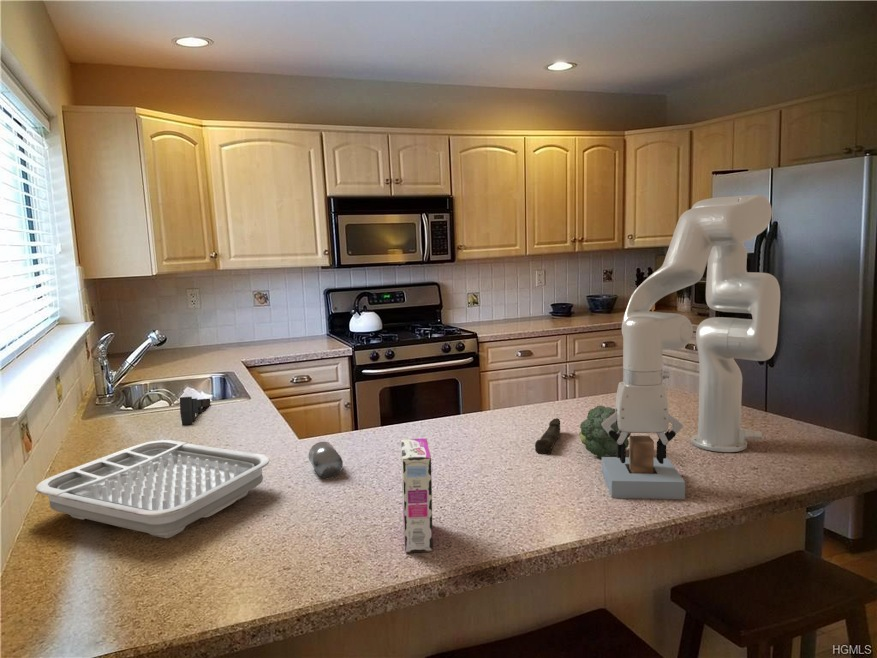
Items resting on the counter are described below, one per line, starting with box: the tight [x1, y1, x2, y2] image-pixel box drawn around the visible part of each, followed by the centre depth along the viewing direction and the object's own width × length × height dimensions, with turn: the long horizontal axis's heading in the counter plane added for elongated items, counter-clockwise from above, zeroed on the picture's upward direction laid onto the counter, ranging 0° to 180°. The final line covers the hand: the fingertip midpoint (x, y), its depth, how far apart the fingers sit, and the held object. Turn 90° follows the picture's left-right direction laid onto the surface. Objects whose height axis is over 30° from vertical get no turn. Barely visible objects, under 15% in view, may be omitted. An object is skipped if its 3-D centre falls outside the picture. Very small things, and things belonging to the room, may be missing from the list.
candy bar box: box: [400, 438, 434, 554], centre depth 106 cm, size 11×5×16 cm, turn 5°
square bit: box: [628, 435, 655, 474], centre depth 127 cm, size 4×4×10 cm
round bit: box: [308, 441, 344, 480], centre depth 140 cm, size 6×6×8 cm
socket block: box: [601, 456, 686, 500], centre depth 127 cm, size 14×14×4 cm
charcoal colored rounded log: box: [534, 417, 561, 455], centre depth 156 cm, size 19×4×5 cm, turn 156°
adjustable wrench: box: [179, 396, 211, 426], centre depth 195 cm, size 8×3×25 cm
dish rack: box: [35, 439, 271, 539], centre depth 124 cm, size 32×37×8 cm
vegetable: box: [579, 405, 632, 459], centre depth 148 cm, size 12×13×15 cm
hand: (641, 460), depth 127 cm, fingers open, 7 cm apart
